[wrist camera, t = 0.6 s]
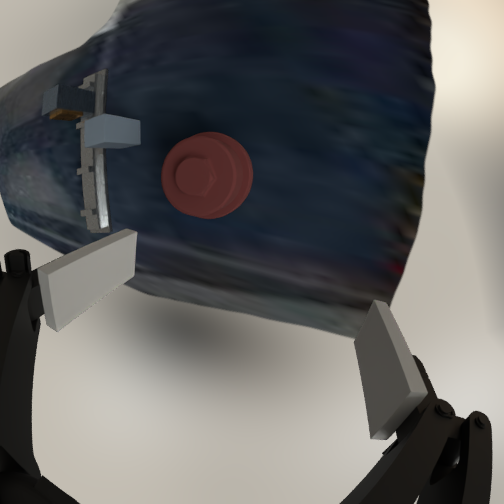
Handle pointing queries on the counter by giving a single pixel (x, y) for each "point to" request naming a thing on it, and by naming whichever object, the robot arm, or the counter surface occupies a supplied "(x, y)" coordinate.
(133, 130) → the pale blue-grey block
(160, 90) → the counter surface
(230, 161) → the mechanical component
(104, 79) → the rail
